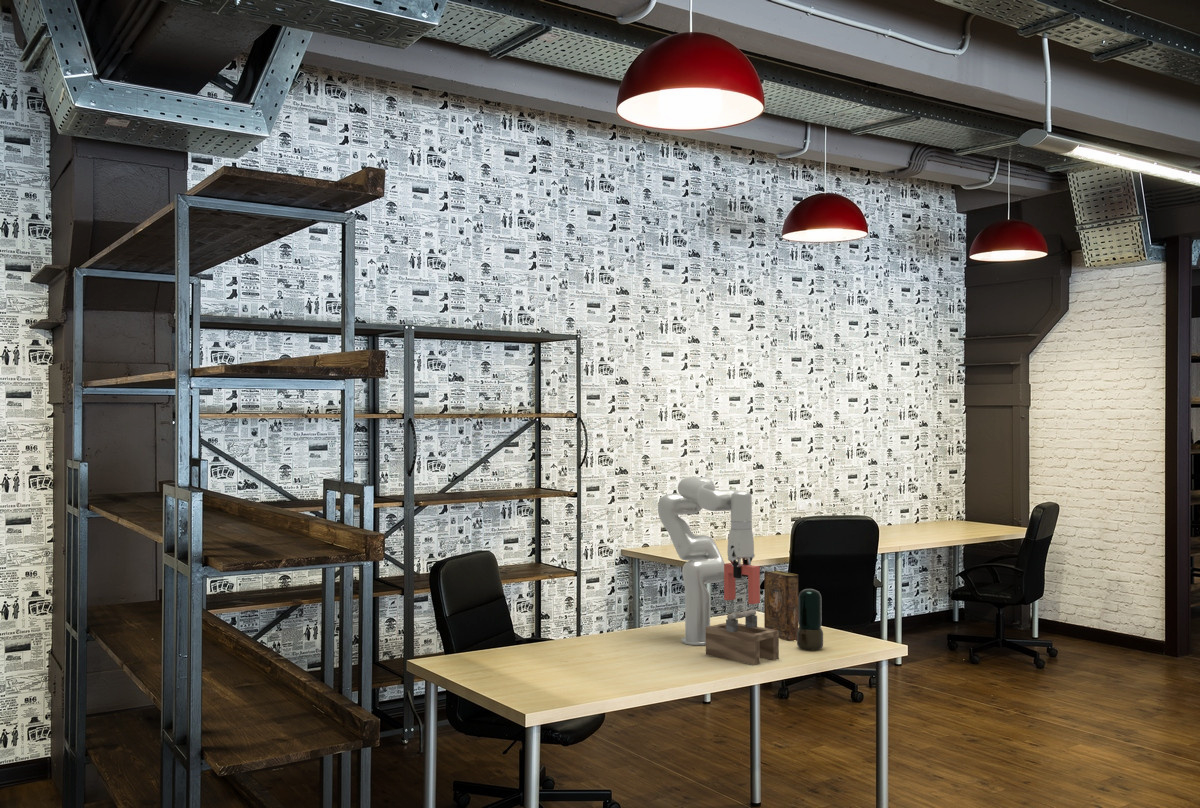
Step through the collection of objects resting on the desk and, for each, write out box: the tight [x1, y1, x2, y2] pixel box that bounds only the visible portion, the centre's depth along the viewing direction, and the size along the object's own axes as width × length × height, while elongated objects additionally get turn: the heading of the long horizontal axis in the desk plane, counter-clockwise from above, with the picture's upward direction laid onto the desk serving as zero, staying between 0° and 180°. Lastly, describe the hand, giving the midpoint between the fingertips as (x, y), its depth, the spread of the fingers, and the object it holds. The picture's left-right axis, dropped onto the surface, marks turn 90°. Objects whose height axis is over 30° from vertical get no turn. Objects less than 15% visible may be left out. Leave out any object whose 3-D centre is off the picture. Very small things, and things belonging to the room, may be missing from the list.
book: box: [763, 569, 799, 642], centre depth 392 cm, size 16×6×25 cm, turn 25°
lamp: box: [796, 588, 824, 651], centre depth 371 cm, size 10×10×22 cm
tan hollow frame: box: [705, 609, 780, 666], centre depth 357 cm, size 14×22×16 cm, turn 43°
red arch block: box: [723, 562, 761, 605], centre depth 358 cm, size 4×13×13 cm, turn 43°
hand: (741, 576), depth 358 cm, fingers closed on red arch block, 4 cm apart
